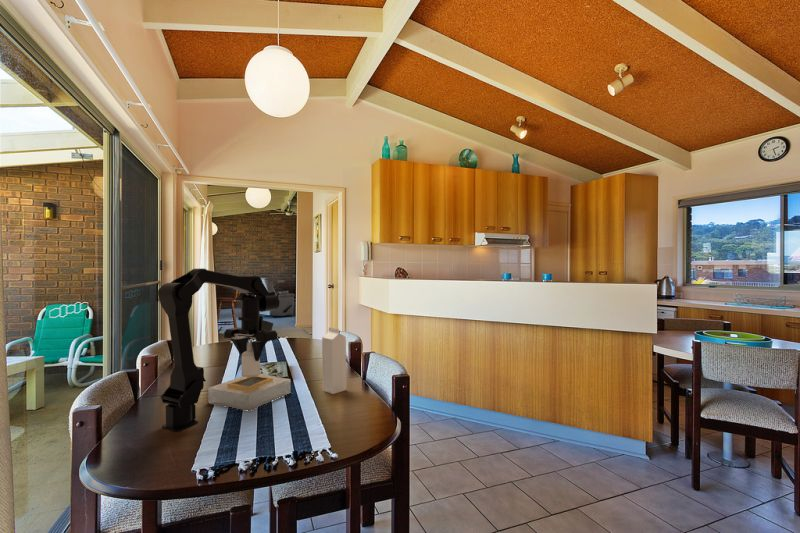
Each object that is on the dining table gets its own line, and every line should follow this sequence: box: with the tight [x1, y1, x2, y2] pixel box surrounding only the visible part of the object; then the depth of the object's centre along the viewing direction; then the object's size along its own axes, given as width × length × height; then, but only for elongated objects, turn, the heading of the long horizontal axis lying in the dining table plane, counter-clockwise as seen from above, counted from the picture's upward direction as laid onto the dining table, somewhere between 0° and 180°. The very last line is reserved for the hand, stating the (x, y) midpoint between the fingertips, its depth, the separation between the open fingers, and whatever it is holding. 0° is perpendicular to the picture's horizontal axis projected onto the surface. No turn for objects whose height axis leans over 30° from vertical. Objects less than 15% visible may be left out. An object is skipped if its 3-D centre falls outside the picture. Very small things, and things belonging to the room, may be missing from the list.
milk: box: [321, 327, 347, 395], centre depth 133 cm, size 6×6×22 cm
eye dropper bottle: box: [241, 339, 261, 377], centre depth 125 cm, size 4×6×12 cm
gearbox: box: [207, 374, 292, 412], centre depth 127 cm, size 23×18×6 cm
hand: (250, 360), depth 125 cm, fingers closed on eye dropper bottle, 6 cm apart
